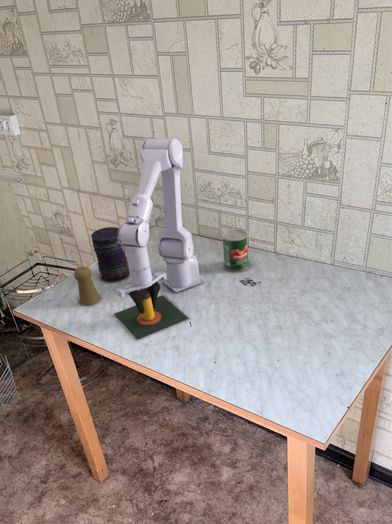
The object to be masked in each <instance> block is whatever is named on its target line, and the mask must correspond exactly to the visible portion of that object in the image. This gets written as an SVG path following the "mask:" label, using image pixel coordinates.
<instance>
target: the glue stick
mask: <svg viewBox="0 0 392 524" xmlns="http://www.w3.org/2000/svg"><path fill="white" fill-rule="evenodd" d="M138 291H139V292H140V294H142V295H143V299H142V300H143V308H144V313H143V314H142V316H143V319H144V320H151V319H153V318H154V317H155V316H154V310H153V304H152V299H151V292H150V289H148V288H144V289H139V290H138Z"/></svg>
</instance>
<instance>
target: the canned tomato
mask: <svg viewBox="0 0 392 524" xmlns="http://www.w3.org/2000/svg"><path fill="white" fill-rule="evenodd" d="M221 238H222V250H223V265H224V269H225V270H226V271H228V272H231V273H238V272H243V271H245V270H247V269H248V268H249V266H250V265H249V248H248V247H249V245H248V233H247V232H246V231H244V230H241V229H232V230H228V231H225V232H223V234H222V235H221Z"/></svg>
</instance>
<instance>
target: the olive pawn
mask: <svg viewBox="0 0 392 524" xmlns="http://www.w3.org/2000/svg"><path fill="white" fill-rule="evenodd" d="M92 276H93V273H92V270H91V268H90V267H88V266H79V267H78V268H76V269H75V270H74V272H73V277H74V279H75V280H76V281H77V288H78V295H79V302H80V304H81V305H82V306H92V305H95V304H97V303H98V302H100V296H99V293H98V290H97V289H96V286H95V284H94V281H93V279H92Z"/></svg>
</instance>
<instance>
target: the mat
mask: <svg viewBox="0 0 392 524" xmlns="http://www.w3.org/2000/svg"><path fill="white" fill-rule="evenodd" d="M153 310H154V316H155V317H154V318H153V319H151V320H144V319H143V316H142V313H140V312H139V311H138V308H137V306H136V305H134V306H133V305H132V306H130V307H128V308H126V309H122V310H120V311H118V312H115V313H114V315H115V316H116V318H117V319H118V320H119V321H120V322H121V323H122V324H123V325H124V326H125V328H126V329H128V331H129V332H130V333H131V334H132V335H133V336H134V338H136V339H137V340H140V339H143V338H145V337H147V336H149V335H152V334H155V333H157V332H160V331H161V330H164V329H167V328H169V327H173V326H174V325H176V324H179V323H182V322H184V321H187V320H189V317H188V316H187V315H186V314H184V313H183V312H182V311H181V310H180V309H179V308H178V307H176V306H175V304H174V303H172V302H171V301H170V300H169V299H167V298H166V297H165V296H164V295H163V294H162V295H160V296H159V295H158V296H157V301H156V308H153Z"/></svg>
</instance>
